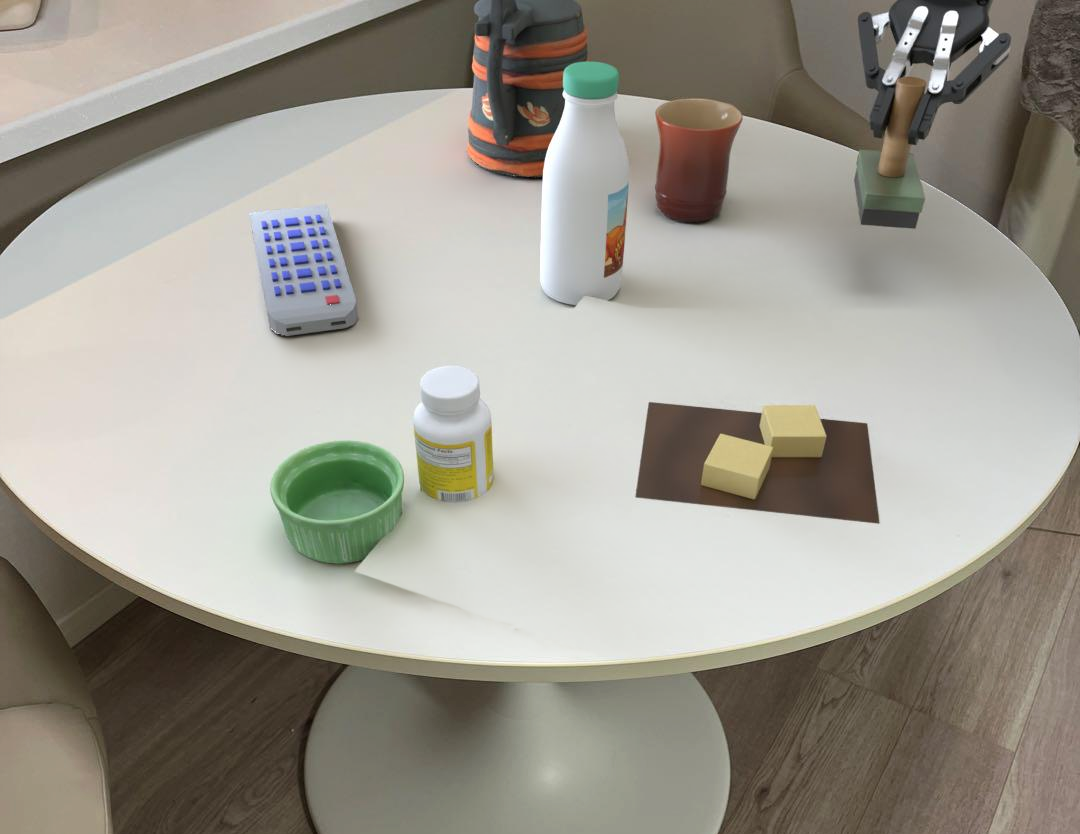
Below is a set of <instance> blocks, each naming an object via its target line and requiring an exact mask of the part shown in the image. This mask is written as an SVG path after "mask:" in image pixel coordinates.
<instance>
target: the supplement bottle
mask: <svg viewBox="0 0 1080 834" xmlns="http://www.w3.org/2000/svg"><path fill="white" fill-rule="evenodd" d="M419 387H420V400H421V401H420V403H419V404H418V405H417V406H416V407H415V409H414V412H413V418H412V420H413V423H412V424H413V434H414V444H415V452H416V453H415V454H416V463H417V472H418V473H417V474H418V481H419V483H418V484H419V490H420V492H424V493H425V494H426V495H427V496H429V497H431V498H432V499H435V500H438V501H441V502H447V503H463V502H468V501H472V500H475V499H477V498H479V497H481V496H483V495H484V494H485V493H487V492H489V490H490V489H491V488H492V486H493V484H494V480H495V479H494V478H495V476H494V453H493V427H492V424H493V423H492V413H491V410H490V407H489V406H488V404H487V403H486V401H485V400H483V399H482V398H481V387H480V379H479V376H478V375H477V373H476V372H474V371H473V370H472V369H470V368H468V367H464V366H461V365H442V366H437V367H435V368H432V369H430V370H428V371H427V372H426V373H424V374H423V376H422V377H421V379H420V382H419Z"/></svg>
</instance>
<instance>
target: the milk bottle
mask: <svg viewBox="0 0 1080 834" xmlns="http://www.w3.org/2000/svg"><path fill="white" fill-rule="evenodd" d="M619 82H620V73H619V70H618V69H617V68H616V67H615V66H613V65H611V64H609V63H604V62H600V61H589V62H578V63H574V64H571V65H569V66H567V67H566V68H565V70H564V74H563V88H564V92H563V97H564V98H565V108H564V111H563V115H562V118H561V121H560V123H559V126H558V128H557V130H556V132H555V134H554V136H553V138H552V140H551V143H550V145H549V147H548V150H547V154H546V158H545V163H544V170H543V177H542V185H541V187H542V188H541V214H540V250H539V251H540V253H539V256H540V257H539V259H540V260H539V265H540V266H539V282H540V286H541V288H542V290H543V292H544V293H545V294H546V295H547V296H548V297H549V298H551V299H552V300H555V301H556V302H559V303H563V304H565V305H571V306H577V305H578V304H579V303H580V302H581V301H582V299H583V298H584V297H585V296H586V297H589V298H594V299H598V300H602V301H610V300H611V299H613V298H615V296H616V295H617V294H618V292H619V291H620V289H621V286H622V280H623V279H622V277H623V268H624V255H625V243H626V231H627V229H626V228H627V217H628V214H627V213H628V203H629V202H628V201H629V182H630V165H629V156H628V152H627V149H626V148H627V147H626V145H625V141H624V140H623V137H622V134H621V131H620V128H619V125H618V121H617V117H616V111H615V102H616V100H617V99H618V97H619V96H618V90H619Z"/></svg>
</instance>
